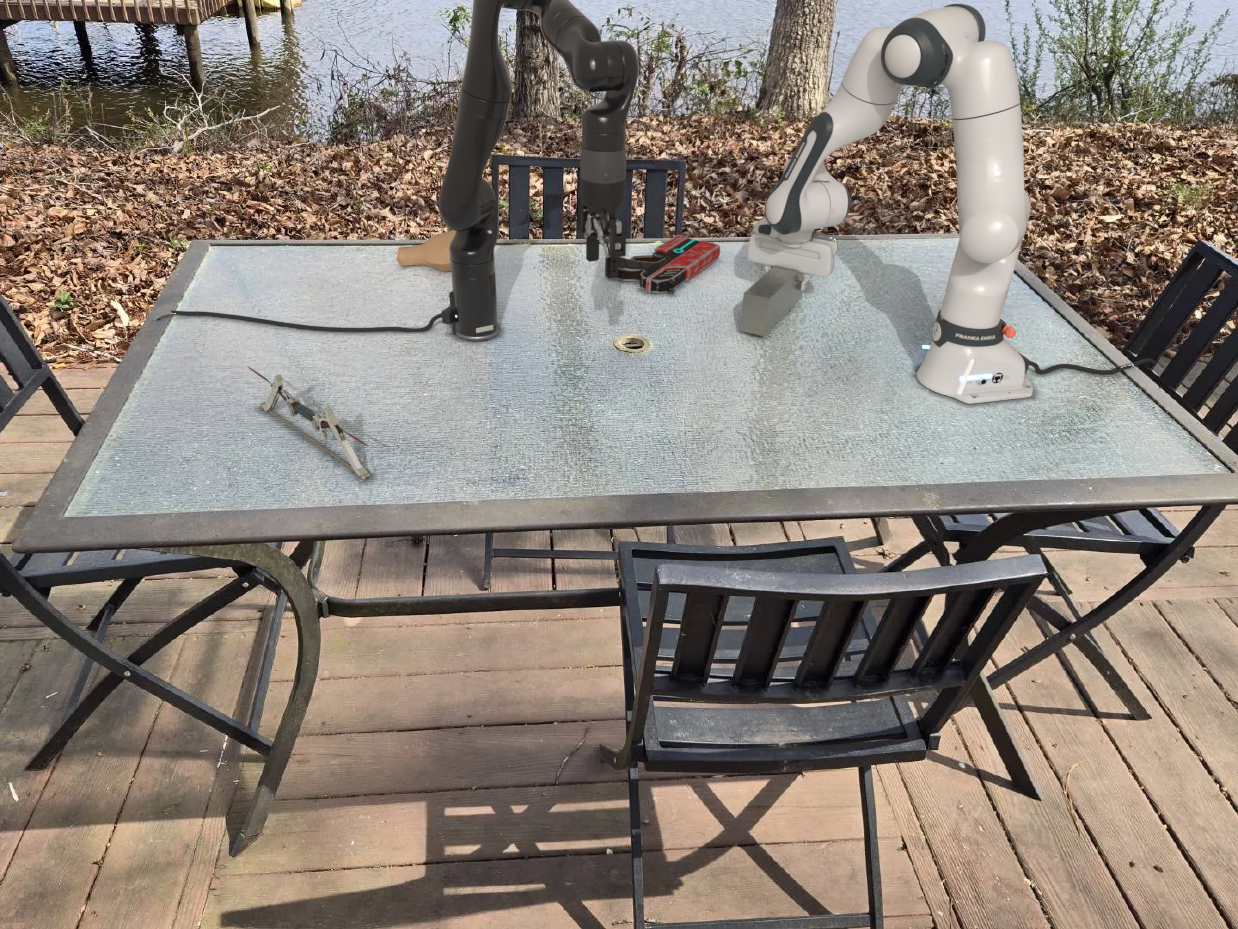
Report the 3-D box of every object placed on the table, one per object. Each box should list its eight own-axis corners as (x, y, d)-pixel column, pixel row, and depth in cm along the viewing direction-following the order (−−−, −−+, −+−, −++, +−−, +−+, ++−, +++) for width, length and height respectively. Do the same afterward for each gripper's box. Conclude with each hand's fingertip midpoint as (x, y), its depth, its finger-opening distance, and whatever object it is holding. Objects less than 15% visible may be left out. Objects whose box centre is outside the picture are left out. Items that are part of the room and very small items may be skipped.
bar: (764, 336, 190) (769, 298, 186) (739, 330, 193) (743, 292, 188) (801, 298, 209) (807, 262, 204) (778, 292, 211) (783, 257, 206)
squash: (475, 275, 220) (467, 243, 214) (398, 282, 222) (387, 251, 216) (480, 253, 228) (473, 221, 222) (405, 260, 230) (396, 229, 224)
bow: (380, 482, 144) (372, 430, 139) (371, 487, 143) (362, 435, 137) (261, 400, 165) (250, 352, 160) (252, 403, 164) (240, 355, 159)
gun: (600, 263, 216) (668, 282, 208) (660, 227, 238) (724, 243, 230) (599, 280, 219) (667, 299, 211) (659, 243, 241) (723, 259, 233)
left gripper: (642, 184, 140) (638, 280, 149) (607, 161, 151) (605, 252, 160) (599, 188, 137) (597, 286, 146) (566, 165, 148) (567, 257, 157)
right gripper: (843, 233, 196) (833, 291, 203) (757, 216, 204) (750, 273, 211) (835, 241, 191) (824, 300, 199) (747, 223, 199) (741, 281, 207)
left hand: (601, 268), depth 153 cm, fingers open, 8 cm apart
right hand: (786, 286), depth 205 cm, fingers closed on bar, 6 cm apart
